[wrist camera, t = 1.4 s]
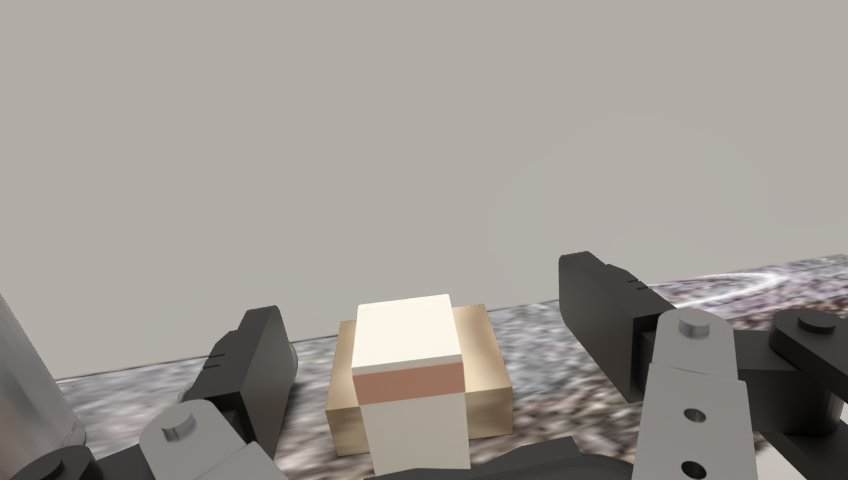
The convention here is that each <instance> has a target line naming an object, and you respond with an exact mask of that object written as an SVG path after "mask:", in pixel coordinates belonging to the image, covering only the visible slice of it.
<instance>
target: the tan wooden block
mask: <svg viewBox="0 0 848 480" xmlns="http://www.w3.org/2000/svg"><path fill="white" fill-rule="evenodd" d="M452 313H453V317H454V322H455V326H456V331H457V335H458V340H459V345H460V349H461V354H462V359H463V365H464V378H465V390H466V392H465V404H466V416H467V429H468V440H469V439H477V438H484V437H492V436H500V435H507V434H513V404H512V385H511V382H510V379H509V376H508V373H507V370H506V367H505V364H504V361H503V358H502V355H501V352H500V349H499V346H498V343H497V341H496V338H495V335H494V332H493V329H492V326H491V323H490V320H489V317H488V314H487V311H486V308H485V305H484V304H479V305H471V306H463V307H456V308H452ZM356 323H357V320H351V321H343V322H340V328H339V334H338V339H337V345H336V351H335V357H334V363H333V368H332V374H331V380H330V386H329V392H328V397H327V403H326V409H325V412H326V415H327V419H328V423H329V426H330V430H331V433H332V437H333V441H334V444H335V448H336V452H337V455H338V456H345V455H353V454H361V453H368V452H370V449H369V444H368V440H367V435H366V431H365V426H364V422H363V418H362V413H361V409H360V405H358V401H357V396H356V392H355V387H354V383H353V379H352V368H351V366H352V358H353V349H354V341H355V332H356Z"/></svg>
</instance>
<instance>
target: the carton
mask: <svg viewBox="0 0 848 480" xmlns="http://www.w3.org/2000/svg"><path fill="white" fill-rule="evenodd" d="M351 368H352V379H353V383H354V387H355V392H356V396H357V401H358V405H360V409H361V413H362V418H363V422H364V426H365V431H366V435H367V440H368V444H369V449H370V453H371V458H372V462H373V467H374V471H375V476H380V475H384V474H389V473H394V472H399V471H404V470H409V469H413V468H441V469H471V466H470V453H469V441H468V429H467V416H466V404H465V392H466V390H465V378H464V365H463V359H462V354H461V349H460V345H459V340H458V335H457V331H456V326H455V322H454V317H453V313H452V308H451V303H450V299H449V294H444V295H436V296H428V297H420V298H411V299H403V300H395V301H387V302H379V303H371V304H363V305H359V307H358V315H357V323H356V332H355V341H354V349H353V358H352V366H351Z"/></svg>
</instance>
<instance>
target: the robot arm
mask: <svg viewBox="0 0 848 480" xmlns="http://www.w3.org/2000/svg"><path fill="white" fill-rule="evenodd" d="M559 305H560V311H561V315H562V318H563V320H564V322H565V324H566V326H567V327H568V328H569V329H570V331H571V332H572V333H573V334H574V336H575V337H576V338H577V339H578V341H579V342H580V343H581V344H582V346H583V347H584V348H585V349H586V351H587V352H588V353H589V354H590V356H591V357H592V358H593V359H594V361H595V362H596V363H597V364H598V366H599V367H600V368H601V369H602V371H603V372H604V373H605V374H606V376H607V377H608V378H609V379H610V381H611V382H612V383H613V384H614V386H615V387H616V388H617V389H618V391H619V392H620V393H621V394H622V396H623V397H624V398H625V399H626V401H627V402H628V403H634V402H639V401H644V403H643V409H642V416H641V422H640V428H639V435H638V441H637V448H636V454H635V460H634V464H631V463H629V462H627V461H624V460H620V459H617V458H614V457H610V456H606V455H601V454H594V453H581V452H580V451H579V449H578V447H577V445H576V444H575V442H574V440H573V438H572V437H571V436H568V437H564V438H559V439H554V440H549V441H544V442H539V443H535V444H530V445H525V446H521V447H519V448H517V449H514V450H512V451H510V452H508V453H506V454H504V455H502V456H499V457H497V458H495V459H493V460H491V461H489V462H487V463H484V464H482V465H480V466H478V467H475V468H472V469H441V468H413V469H409V470H404V471H399V472H394V473H389V474H384V475H380V476H375V477H370V478H365V479H364V480H758V475H757V467H756V459H755V451H754V442H753V434H752V431H759V433H760V434H761V435H762V436H763V437H764V438H765V439H766V440H767V441H768V442H769V443H770V444H771V445H772V446H773V447H774V448H775V449H776V450H777V451H778V452H779V453H780V454H782V456H783V457H784V458H785V459H786V460H787V461H788V462H790V464H792V465H793V466H794V467H795V468H796V469H797V470H798V471H799V472H800V473H801V474H802V475H803V476H804V477H805V478H806V479H807V480H848V425H847V424H846V423H845V422H844V421H842V420H841V419H840V416H841V412H842V409H843V405H844V402H846V403H847V404H848V321H846V320H844V319H842V318H840V317H837V316H835V315H832V314H829V313H825V312H821V311H816V310H809V309H786V310H782V311H779V312H777V313H775V314H774V316H773V318H772V323H771V329H770V331H753V330H733V329H732V327H731V325H730V324H729V323H728V322H727V321H726V320H724V319H723V318H721V317H719V316H717V315H715V314H712V313H709V312H706V311H702V310H697V309H688V308H681V309H677V308H676V307H674V306H673V305H672V304H670V303H669V302H668V301H666V300H665V299H664V298H662V297H661V296H660V295H658V294H657V293H656V292H654V291H653V290H652V289H648V286H646V285H645V284H644V283H642V282H641V281H638V279H637V278H636V277H634V276H633V275H632V274H630V273H629V272H628V271H626V270H624V269H621V268H618V267H616V266H613V265H610V264H607V265H605V264H604V263H603V262H601V261H600V260H599V259H598V258H596V257H595V256H594V255H592V254H591V253H590V252H588V251H584V252H579V253H573V254H567V255H562V256H561V257H560V259H559ZM202 368H203V370H201V371H200V373H199V375H198V377H197V378H196V380H195V382H194V384H193V386H192V387H191V389H190V391H189V393H188V395H187V397H186V398H185V400H184V402H183V403H180V404H177V405H175V406H173V407H171V408H169V409H167V410H165V411H164V412H162V413H161V414H159V415H158V416H156V417H155V418H154V419H153V420H152V421H151V422H150V423H149V424H148V425H147V426H146V427H145V428H144V430H143V431H142V433H141V435H140V438H139V444H137V445H134V446H132V447H130V448H127V449H125V450H122V451H120V452H117V453H115V454H112V455H110V456H107V457H105V458H102V459H100V460H97V461H96V460H95V458H94V456H93V454H92V452H91V451H90V449H89V448H88V447H86V446H83V444H84V442H85V430H84V428H83V426H82V424H81V423H80V421H79V420H78V418H77V416H76V415H75V413H74V411H73V410H72V408H71V407H70V405H69V403H68V402H67V400H66V398H65V397H64V395H63V393H62V392H61V390H60V388H59V387H58V385H57V384H56V382H55V380H54V379H53V377H52V375H51V374H50V372H49V371H48V369H47V367H46V366H45V364H44V363H43V361H42V359H41V358H40V356H39V355H38V353H37V351H36V350H35V348H34V347H33V345H32V343H31V342H30V340H29V339H28V337H27V335H26V334H25V332H24V330H23V329H22V327H21V326H20V324H19V322H18V321H17V319H16V317H15V316H14V314H13V313H12V311H11V309H10V308H9V306H8V305H7V303H6V301H5V300H4V298H3V297H2V295H1V294H0V480H289V479H288V478H287V477H286V476H285V475H284V473H283V472H282V471H281V470H280V469H279V468H278V466H277V465H276V464H275V463H274V462H273V460H274V455H275V451H276V447H277V443H278V438H279V434H280V430H281V426H282V421H283V417H284V413H285V409H286V404H287V400H288V396H289V392H290V387H291V383H292V379H293V374H294V363H293V356H292V351H291V348H290V344H289V341H288V338H287V334H286V331H285V327H284V324H283V321H282V317H281V314H280V311H279V309H278V307H277V306H276V305H274V306H268V307H262V308H257V309H251V310H247V312H246V313H245V315H244V318H243V319H242V321H241V323H240V325H239V327H238V329H237V330H234V331H230V332H228V333H227V334H226V335H225V336H224V337H223V338H221V340H219V341H218V342H217V343H216V344H215V346H214V348H213V349H212V351H211V353H210V355H209V359H207V360H206V362H205V364H204V366H203V367H202Z"/></svg>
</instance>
